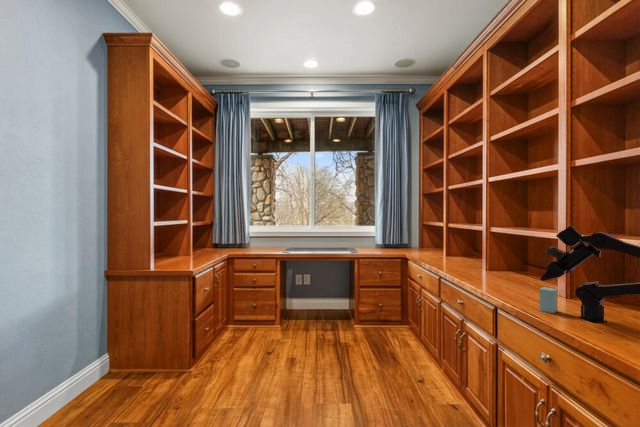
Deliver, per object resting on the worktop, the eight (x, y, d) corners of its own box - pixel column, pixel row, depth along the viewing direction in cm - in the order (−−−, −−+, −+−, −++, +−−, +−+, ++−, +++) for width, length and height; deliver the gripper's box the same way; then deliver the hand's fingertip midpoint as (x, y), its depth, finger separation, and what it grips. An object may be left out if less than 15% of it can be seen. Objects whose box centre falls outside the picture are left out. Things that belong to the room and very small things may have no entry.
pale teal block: (557, 310, 137) (557, 289, 137) (553, 313, 133) (553, 291, 133) (543, 308, 140) (543, 287, 140) (539, 310, 137) (539, 288, 137)
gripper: (566, 238, 140) (536, 261, 148) (553, 241, 127) (521, 265, 136) (589, 259, 134) (557, 281, 142) (578, 264, 122) (543, 287, 130)
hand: (544, 278), depth 138 cm, fingers open, 9 cm apart
